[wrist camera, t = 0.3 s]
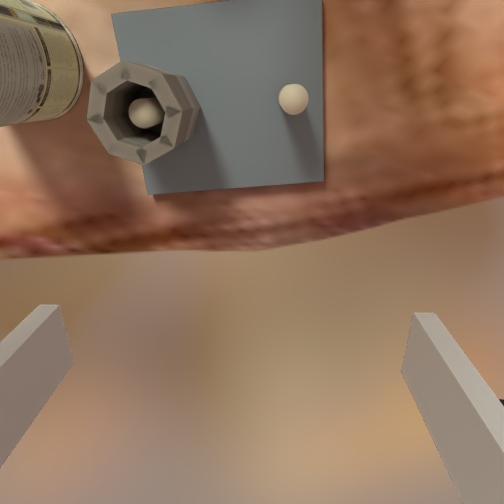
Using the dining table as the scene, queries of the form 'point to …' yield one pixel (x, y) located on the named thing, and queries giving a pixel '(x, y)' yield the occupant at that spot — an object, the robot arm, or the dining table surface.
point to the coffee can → (36, 64)
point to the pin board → (234, 91)
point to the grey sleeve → (119, 100)
